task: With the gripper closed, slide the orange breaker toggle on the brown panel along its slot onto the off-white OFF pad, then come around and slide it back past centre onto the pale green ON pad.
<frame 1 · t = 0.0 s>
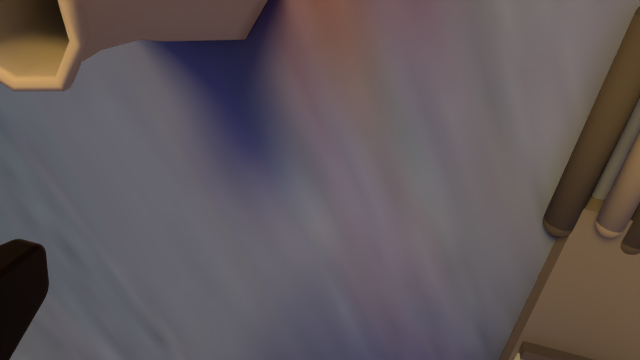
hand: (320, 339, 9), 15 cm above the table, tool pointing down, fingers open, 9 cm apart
cables: (638, 131, 22), on the table
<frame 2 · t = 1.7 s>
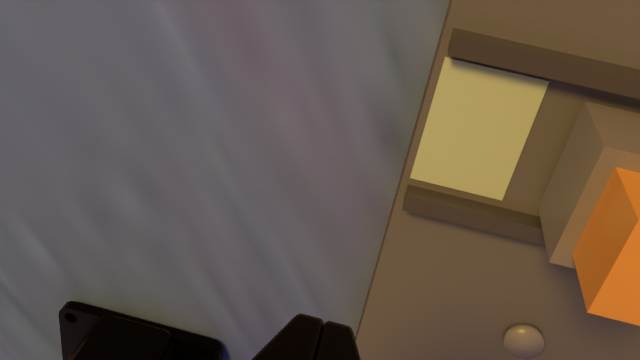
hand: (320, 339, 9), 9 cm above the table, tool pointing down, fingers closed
panel: (593, 161, 17), on the table
toggle: (631, 217, 14), point 3 cm above the table, slide at 0.0 cm
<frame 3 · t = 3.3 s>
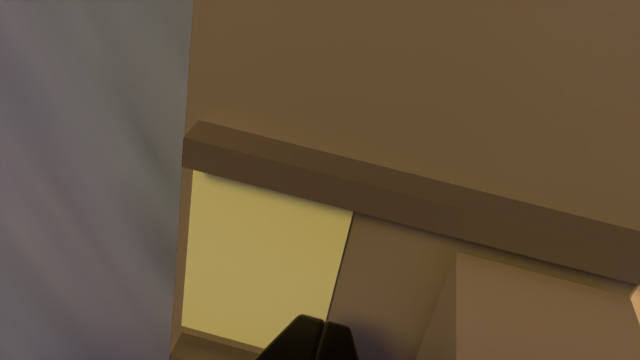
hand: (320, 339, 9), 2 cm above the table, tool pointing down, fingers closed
panel: (452, 304, 11), on the table
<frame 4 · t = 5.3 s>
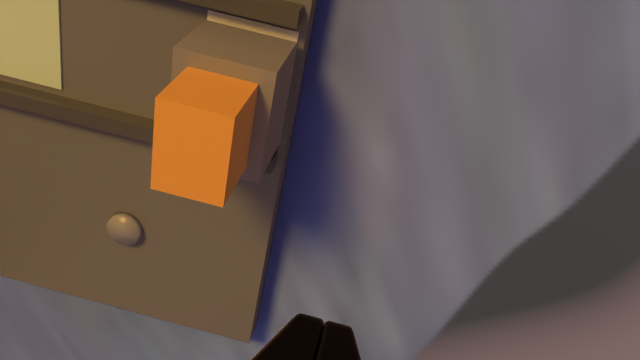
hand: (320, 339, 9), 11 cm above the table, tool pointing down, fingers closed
panel: (144, 56, 19), on the table
toggle: (220, 115, 16), point 3 cm above the table, slide at -3.5 cm
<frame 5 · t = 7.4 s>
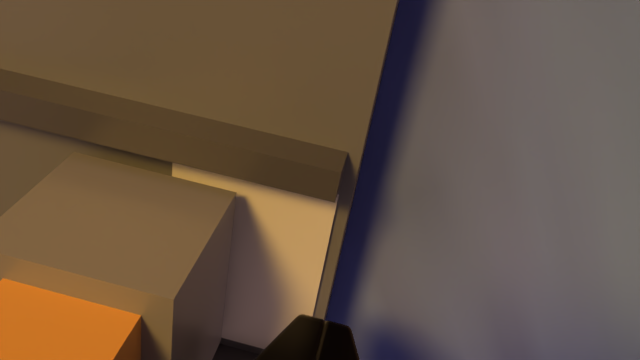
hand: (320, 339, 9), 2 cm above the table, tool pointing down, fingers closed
panel: (81, 205, 12), on the table
toggle: (84, 351, 8), point 3 cm above the table, slide at -2.0 cm, touching gripper
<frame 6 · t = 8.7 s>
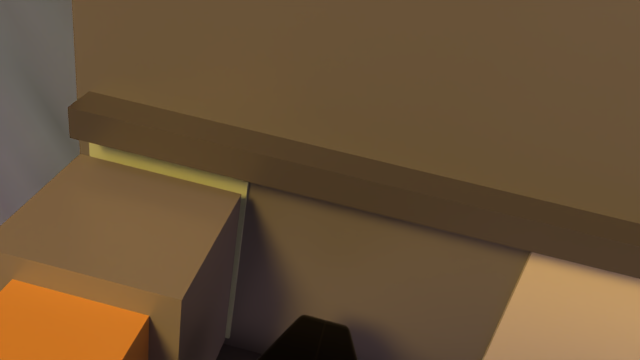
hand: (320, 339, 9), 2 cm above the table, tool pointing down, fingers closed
panel: (366, 278, 11), on the table
toggle: (91, 351, 8), point 3 cm above the table, slide at 3.5 cm, touching gripper
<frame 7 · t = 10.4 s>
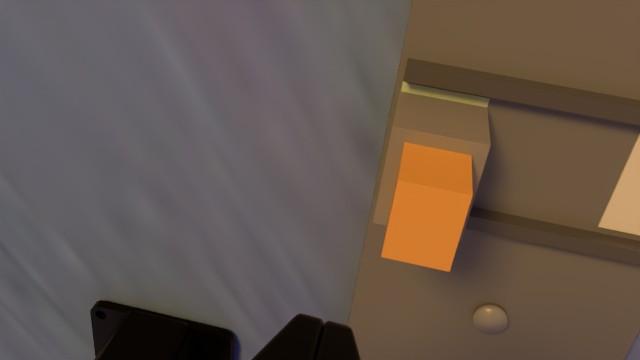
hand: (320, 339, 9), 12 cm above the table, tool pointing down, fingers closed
panel: (537, 162, 20), on the table
toggle: (428, 182, 17), point 4 cm above the table, slide at 3.5 cm
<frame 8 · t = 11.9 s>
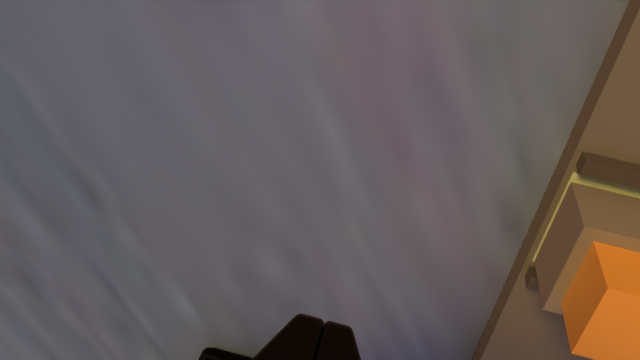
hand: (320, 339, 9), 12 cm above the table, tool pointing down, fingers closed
toggle: (606, 276, 18), point 4 cm above the table, slide at 3.5 cm
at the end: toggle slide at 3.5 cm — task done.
